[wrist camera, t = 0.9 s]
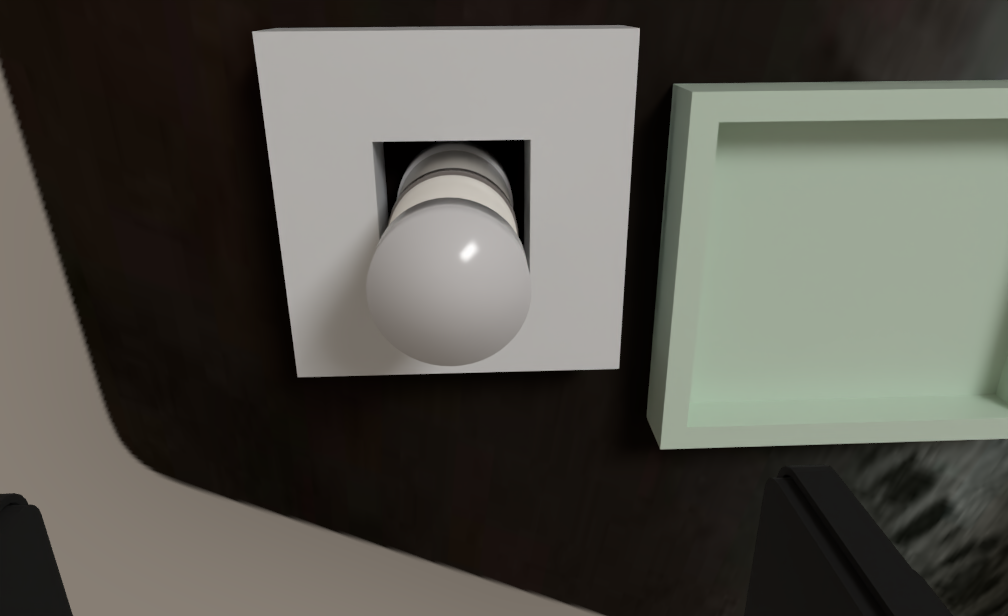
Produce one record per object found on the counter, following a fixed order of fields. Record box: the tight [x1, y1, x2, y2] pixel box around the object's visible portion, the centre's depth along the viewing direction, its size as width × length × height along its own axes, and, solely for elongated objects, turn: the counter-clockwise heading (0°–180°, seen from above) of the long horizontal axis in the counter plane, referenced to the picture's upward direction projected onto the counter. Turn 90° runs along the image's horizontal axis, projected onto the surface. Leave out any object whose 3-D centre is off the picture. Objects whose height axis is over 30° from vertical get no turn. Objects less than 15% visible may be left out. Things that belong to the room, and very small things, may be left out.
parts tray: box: [646, 80, 1008, 449], centre depth 28 cm, size 16×14×2 cm
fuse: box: [366, 141, 532, 366], centre depth 23 cm, size 4×4×10 cm
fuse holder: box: [252, 25, 640, 377], centre depth 26 cm, size 12×12×3 cm
